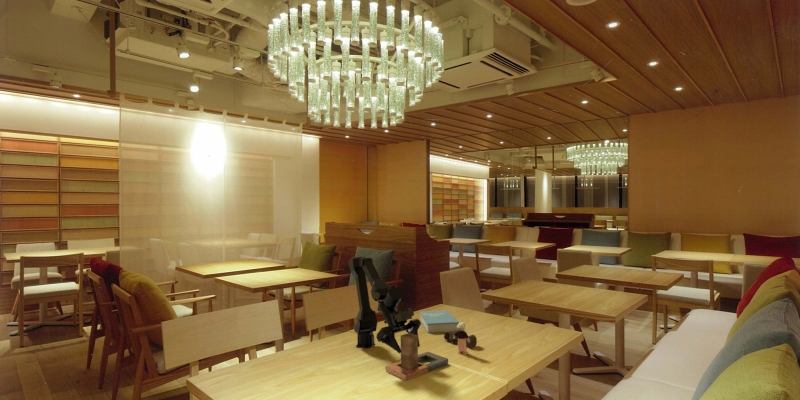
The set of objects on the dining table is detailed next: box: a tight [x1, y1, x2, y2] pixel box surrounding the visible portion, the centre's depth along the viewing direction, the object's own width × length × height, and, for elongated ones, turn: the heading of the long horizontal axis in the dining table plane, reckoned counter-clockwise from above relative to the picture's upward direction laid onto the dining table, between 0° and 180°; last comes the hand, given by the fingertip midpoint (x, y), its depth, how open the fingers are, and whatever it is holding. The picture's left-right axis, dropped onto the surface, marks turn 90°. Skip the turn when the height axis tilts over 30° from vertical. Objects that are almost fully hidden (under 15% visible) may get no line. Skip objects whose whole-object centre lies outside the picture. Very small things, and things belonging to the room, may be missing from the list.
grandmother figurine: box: [453, 321, 470, 356], centre depth 169 cm, size 8×4×13 cm, turn 65°
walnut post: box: [400, 333, 419, 370], centre depth 152 cm, size 4×4×13 cm
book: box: [419, 309, 460, 334], centre depth 209 cm, size 23×16×5 cm
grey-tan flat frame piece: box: [385, 351, 449, 381], centre depth 155 cm, size 22×11×2 cm, turn 131°
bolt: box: [443, 332, 478, 349], centre depth 181 cm, size 6×5×15 cm
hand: (409, 349), depth 152 cm, fingers open, 9 cm apart
